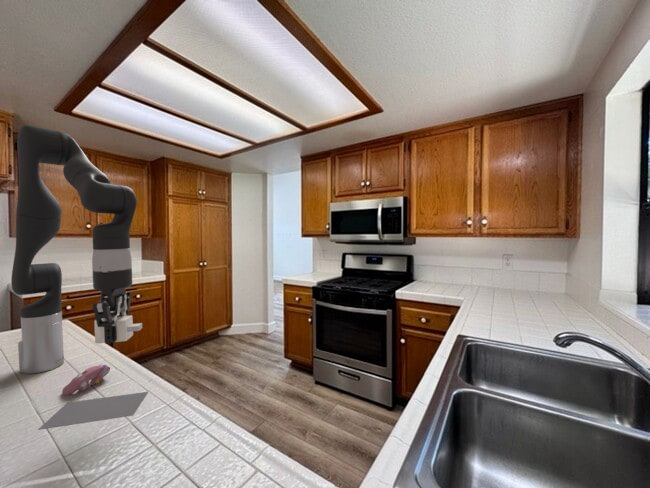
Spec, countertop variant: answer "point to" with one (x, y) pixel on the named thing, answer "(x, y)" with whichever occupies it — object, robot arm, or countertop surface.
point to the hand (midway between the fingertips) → (115, 338)
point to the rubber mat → (95, 410)
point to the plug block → (118, 329)
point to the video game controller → (86, 379)
